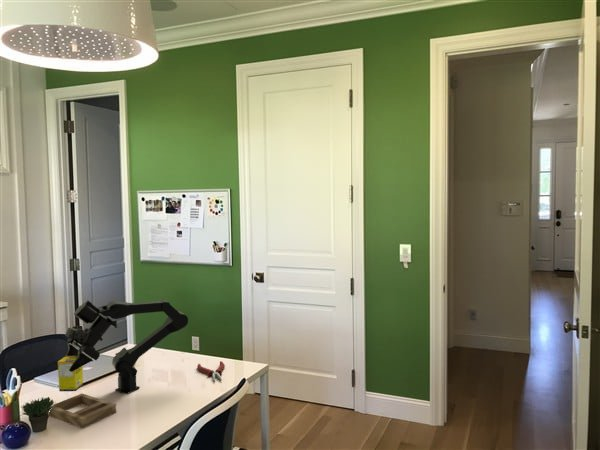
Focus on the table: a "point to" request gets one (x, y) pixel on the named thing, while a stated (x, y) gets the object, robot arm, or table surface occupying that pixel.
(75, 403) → the socket plate
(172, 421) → the table surface
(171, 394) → the table surface
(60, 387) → the supplement box
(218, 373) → the pliers
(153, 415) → the table surface
